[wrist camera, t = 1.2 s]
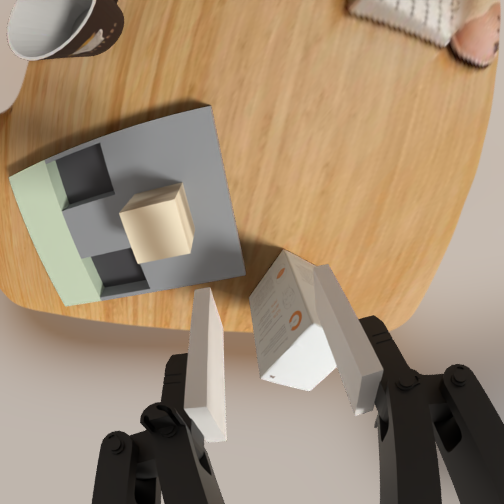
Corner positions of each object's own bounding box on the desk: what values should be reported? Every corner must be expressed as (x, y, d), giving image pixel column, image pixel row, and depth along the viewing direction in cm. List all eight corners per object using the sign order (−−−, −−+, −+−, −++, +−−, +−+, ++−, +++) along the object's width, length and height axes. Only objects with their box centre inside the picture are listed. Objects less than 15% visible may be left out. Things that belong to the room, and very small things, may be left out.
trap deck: (211, 105, 27) (210, 105, 24) (244, 263, 35) (246, 275, 33) (20, 171, 27) (8, 177, 25) (72, 295, 36) (65, 306, 33)
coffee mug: (64, 77, 23) (8, 77, 14) (59, 11, 19) (8, -7, 10) (167, 44, 23) (141, 22, 14) (160, -25, 19) (136, -66, 10)
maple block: (182, 182, 28) (174, 199, 23) (195, 229, 30) (190, 253, 26) (134, 194, 28) (118, 213, 23) (149, 238, 30) (137, 264, 26)
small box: (288, 314, 40) (309, 393, 29) (247, 297, 38) (257, 380, 27) (325, 268, 37) (363, 343, 25) (283, 246, 35) (311, 323, 23)
